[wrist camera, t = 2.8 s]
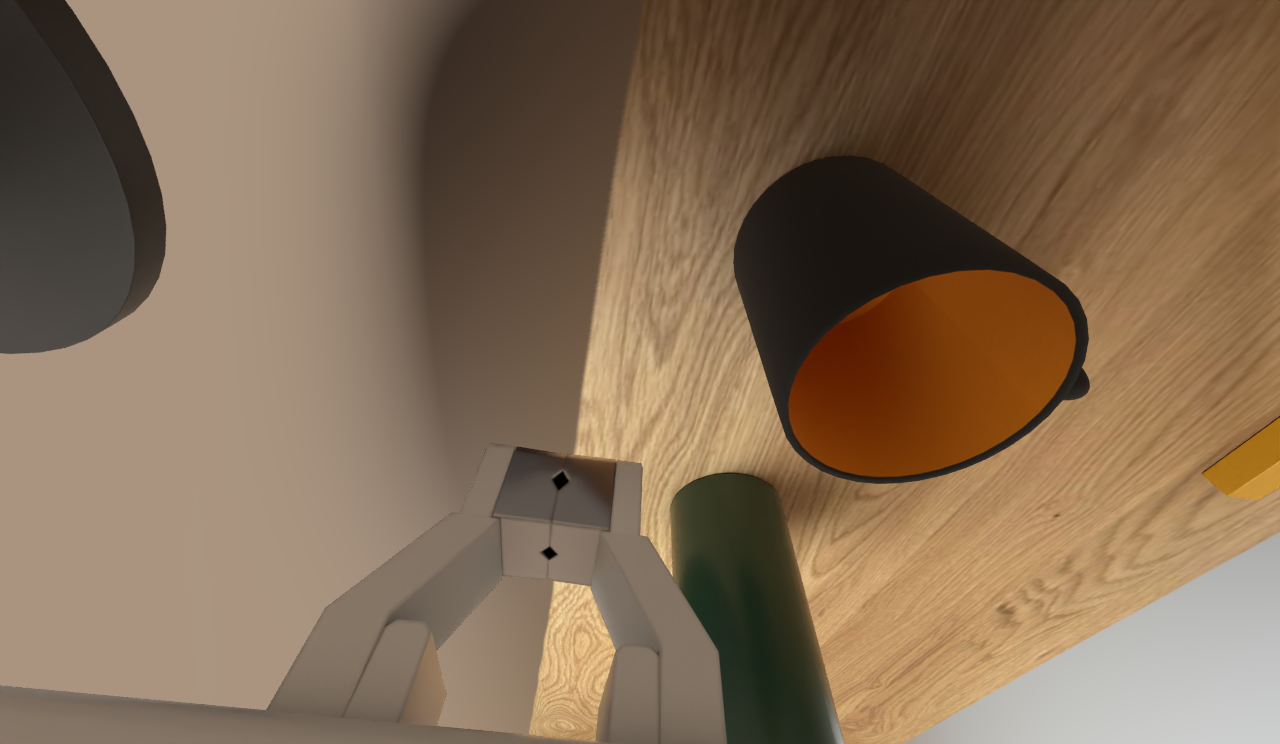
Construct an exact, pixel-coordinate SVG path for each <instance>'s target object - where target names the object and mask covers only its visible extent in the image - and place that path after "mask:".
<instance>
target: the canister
mask: <svg viewBox="0 0 1280 744" xmlns="http://www.w3.org/2000/svg"><path fill="white" fill-rule="evenodd" d="M670 512H671V540H672V569H673V579H674V580H675V582H676V583H677V585H678V587H679V588H680V590H681V592H682V593H683V595H684V596H685V598H686V600H687V601H688V603H689V604H690V606H691V608H692V609H693V611H694V613H695V614H696V616H697V617H698V619H699V621H700V622H701V624H702V626H703V627H704V629H705V630H706V632H707V634H708V635H709V637H710V639H711V640H712V642H713V643H714V645H715V647H716V648H717V650H718V652H719V662H720V673H721V683H722V694H723V705H724V716H725V727H726V738H727V744H845V743H844V739H843V735H842V731H841V727H840V724H839V720H838V716H837V712H836V708H835V705H834V701H833V697H832V693H831V689H830V685H829V682H828V678H827V674H826V670H825V666H824V663H823V659H822V655H821V651H820V647H819V643H818V640H817V636H816V632H815V628H814V624H813V621H812V617H811V613H810V609H809V605H808V601H807V598H806V594H805V590H804V586H803V582H802V579H801V575H800V571H799V567H798V563H797V560H796V556H795V552H794V548H793V544H792V540H791V537H790V533H789V529H788V525H787V521H786V518H785V514H784V510H783V506H782V502H781V498H780V496H779V494H778V493H777V491H776V490H775V489H774V488H773V487H772V486H771V485H770V484H768V483H767V482H765V481H763V480H761V479H758V478H756V477H753V476H749V475H743V474H732V473H731V474H717V475H712V476H707V477H704V478H701V479H698V480H696V481H694V482H692V483H690V484H688V485H687V486H685V487H684V488H683V489H681V490H680V491H679V492H678V493H677V495H676V496H675V497H674V499H673V501H672V504H671V508H670Z"/></svg>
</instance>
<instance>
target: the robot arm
mask: <svg viewBox="0 0 1280 744" xmlns="http://www.w3.org/2000/svg"><path fill="white" fill-rule="evenodd" d="M642 472H643V467H642V465H641V463H635V462H627V461H619V460H617V461H616V460H614V459H605V458H597V457H589V456H581V455H572V454H567V455H566V454H560V453H554V452H548V451H540V450H535V449H529V448H522V447H514V446H507V445H501V444H495V443H490V445H489V446H488V447H487V449H486V450H485V453H484V455H483V457H482V460H481V463H480V465H479V467H478V470H477V472H476V475H475V477H474V479H473V482H472V484H471V487H470V489H469V492H468V494H467V497H466V499H465V501H464V504H463V506H462V509H461V511H460V513H450V514H449V515H448V516H446V517H445V518H444V519H442V520H441V521H440V522H438V523H437V524H436V525H434V526H433V527H432V528H430V529H429V530H428V531H426V532H425V533H424V534H423V535H421V536H420V537H418V538H417V539H416V540H414V541H413V542H412V543H411V544H409V545H408V546H407V547H405V548H404V549H403V550H401V551H400V552H399V553H397V554H396V555H395V556H393V557H392V558H391V559H389V560H388V561H387V562H385V563H384V564H383V565H381V566H380V567H379V568H377V569H376V570H375V571H373V572H372V573H371V574H370V575H368V576H367V577H365V578H364V579H363V580H361V581H360V582H359V583H357V584H356V585H355V586H354V587H352V588H351V589H350V590H348V591H347V592H346V593H345V594H343V595H342V596H340V597H339V598H338V599H336V600H335V601H334V602H332V603H331V604H330V605H328V606H327V607H326V608H325V609H324V611H323V613H322V614H321V616H320V618H319V620H318V621H317V623H316V625H315V627H314V628H313V630H312V632H311V633H310V635H309V637H308V639H307V640H306V642H305V644H304V646H303V647H302V649H301V651H300V653H299V654H298V656H297V658H296V660H295V661H294V663H293V665H292V666H291V668H290V670H289V672H288V673H287V675H286V677H285V679H284V681H283V682H282V684H281V686H280V687H279V689H278V691H277V692H276V694H275V696H274V698H273V699H272V701H271V703H270V705H269V706H268V708H267V710H257V709H247V708H235V707H225V706H214V705H204V704H192V703H181V702H172V701H161V700H150V699H139V698H129V697H117V696H107V695H97V694H86V693H74V692H65V691H53V690H43V689H32V688H22V687H11V686H0V744H727V738H726V727H725V716H724V705H723V694H722V683H721V673H720V662H719V652H718V650H717V648H716V647H715V645H714V643H713V642H712V640H711V639H710V637H709V635H708V634H707V632H706V630H705V629H704V627H703V626H702V624H701V622H700V621H699V619H698V617H697V616H696V614H695V613H694V611H693V609H692V608H691V606H690V604H689V603H688V601H687V600H686V598H685V596H684V595H683V593H682V592H681V590H680V588H679V587H678V585H677V583H676V582H675V580H674V579H673V577H672V575H671V574H670V572H669V570H668V569H667V567H666V566H665V564H664V562H663V561H662V559H661V557H660V556H659V554H658V553H657V551H656V549H655V548H654V546H653V544H652V543H651V541H650V540H649V538H648V537H645V536H640V525H641V499H642ZM502 576H510V577H520V578H532V579H543V580H547V579H548V580H552V581H558V582H565V583H572V584H579V585H586V586H591V590H592V593H593V595H594V598H595V600H596V603H597V605H598V608H599V610H600V612H601V615H602V617H603V620H604V622H605V625H606V627H607V630H608V632H609V634H610V637H611V639H612V642H613V644H614V647H615V649H616V652H615V655H614V658H613V662H612V665H611V669H610V672H609V675H608V679H607V682H606V685H605V689H604V692H603V696H602V699H601V702H600V706H599V711H598V721H597V731H596V741H589V740H578V739H568V738H557V737H546V736H536V735H525V734H514V733H503V732H493V731H482V730H470V729H461V728H450V727H439V726H437V724H438V720H439V717H440V714H441V710H442V707H443V704H444V701H445V697H446V690H445V686H444V682H443V677H442V673H441V669H440V665H439V661H438V657H437V652H436V651H437V650H438V649H439V648H440V646H441V645H442V644H443V643H444V642H445V641H446V640H447V639H448V638H449V637H450V636H451V634H452V633H453V632H454V631H455V630H456V629H457V628H458V627H459V626H460V625H461V623H462V622H463V621H464V620H465V619H466V618H467V617H468V616H469V615H470V614H471V613H472V611H473V610H474V609H475V608H476V607H477V606H478V605H479V604H480V603H481V601H483V599H484V598H485V597H486V596H487V595H488V594H489V593H490V592H491V591H492V590H493V588H494V587H495V586H496V585H497V584H498V583H499V582H500V581H501V580H502Z"/></svg>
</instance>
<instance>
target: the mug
mask: <svg viewBox="0 0 1280 744" xmlns="http://www.w3.org/2000/svg"><path fill="white" fill-rule="evenodd" d="M733 263H734V272H735V278H736V281H737V284H738V288H739V291H740V294H741V297H742V300H743V304H744V307H745V310H746V313H747V316H748V320H749V323H750V326H751V329H752V332H753V336H754V339H755V342H756V345H757V348H758V351H759V355H760V358H761V361H762V364H763V367H764V370H765V374H766V377H767V380H768V383H769V386H770V389H771V393H772V396H773V399H774V402H775V405H776V408H777V411H778V414H779V417H780V420H781V423H782V426H783V429H784V432H785V435H786V438H787V439H788V441H789V442H790V444H791V445H792V447H793V448H794V450H795V451H796V452H797V453H798V454H799V455H800V456H801V457H802V458H803V459H804V460H806V461H807V462H808V463H810V464H811V465H813V466H814V467H816V468H818V469H819V470H821V471H823V472H826V473H828V474H831V475H833V476H836V477H838V478H843V479H847V480H851V481H856V482H864V483H875V484H887V483H904V482H912V481H920V480H925V479H929V478H934V477H938V476H942V475H946V474H949V473H952V472H955V471H958V470H961V469H964V468H967V467H969V466H971V465H974V464H976V463H978V462H981V461H983V460H985V459H987V458H989V457H991V456H993V455H995V454H997V453H998V452H1000V451H1002V450H1004V449H1006V448H1007V447H1009V446H1011V445H1012V444H1014V443H1015V442H1017V441H1018V440H1020V439H1021V438H1022V437H1024V436H1025V435H1027V434H1028V433H1030V432H1031V431H1032V430H1033V429H1034V428H1035V427H1037V426H1038V425H1039V424H1040V423H1041V422H1042V421H1043V420H1045V419H1046V418H1047V417H1048V416H1049V415H1050V414H1051V413H1052V412H1053V411H1054V409H1055V408H1056V407H1057V406H1058V405H1059V404H1060V403H1061V402H1062V400H1075V399H1078V398H1081V397H1083V396H1084V395H1086V394H1087V393H1088V391H1089V388H1090V383H1089V379H1088V377H1087V374H1086V373H1085V371H1084V370H1083V368H1082V366H1083V363H1084V361H1085V357H1086V352H1087V346H1088V340H1089V336H1088V325H1087V318H1086V315H1085V313H1084V311H1083V308H1082V306H1081V304H1080V301H1079V300H1078V298H1077V297H1076V296H1075V295H1074V294H1073V293H1072V292H1071V290H1070V289H1069V288H1068V287H1067V286H1066V285H1065V284H1064V283H1062V282H1061V281H1059V280H1058V279H1056V278H1055V277H1054V276H1052V275H1051V274H1049V273H1048V272H1046V271H1045V270H1043V269H1042V268H1040V267H1039V266H1037V265H1036V264H1035V263H1033V262H1032V261H1030V260H1029V259H1027V258H1026V257H1024V256H1023V255H1021V254H1019V253H1018V252H1016V251H1015V250H1013V249H1012V248H1010V247H1009V246H1007V245H1006V244H1004V243H1003V242H1001V241H1000V240H998V239H997V238H995V237H994V236H992V235H991V234H989V233H988V232H986V231H985V230H983V229H982V228H980V227H979V226H977V225H976V224H974V223H973V222H971V221H970V220H968V219H967V218H965V217H964V216H962V215H961V214H959V213H958V212H956V211H955V210H953V209H952V208H950V207H949V206H947V205H946V204H944V203H942V202H941V201H939V200H938V199H936V198H935V197H933V196H932V195H930V194H929V193H927V192H926V191H924V190H923V189H921V188H920V187H918V186H917V185H915V184H914V183H912V182H911V181H909V180H908V179H906V178H905V177H903V176H902V175H900V174H899V173H897V172H895V171H894V170H892V169H891V168H889V167H888V166H886V165H884V164H883V163H880V162H877V161H874V160H871V159H868V158H862V157H855V156H839V157H830V158H826V159H821V160H817V161H813V162H811V163H809V164H806V165H804V166H801V167H799V168H797V169H795V170H793V171H792V172H790V173H788V174H787V175H785V176H783V177H782V178H780V179H779V180H778V181H777V182H775V183H774V184H773V185H772V186H771V187H769V188H768V189H767V190H766V191H765V192H764V193H763V194H762V195H761V197H760V198H759V199H758V200H757V201H756V202H755V203H754V205H753V206H752V208H751V209H750V211H749V213H748V214H747V216H746V217H745V219H744V221H743V223H742V226H741V228H740V230H739V233H738V236H737V240H736V244H735V248H734V262H733Z"/></svg>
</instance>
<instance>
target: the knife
mask: <svg viewBox="0 0 1280 744" xmlns="http://www.w3.org/2000/svg"><path fill="white" fill-rule="evenodd" d="M1202 475H1203V476H1204V477H1206V478H1207V479H1208V480H1209V481H1210V482H1211V483H1213V484H1214V485H1215V486H1216V487H1217V488H1219V489H1220V490H1221V491H1222V492H1223V493H1224V494H1226V495H1227V496H1229V497H1237V498H1245V499H1252V500H1260V499H1261V498H1263V497H1264V496H1266V495H1267V494H1269V493H1271V492H1272V491H1274V490H1275V489H1277V488H1278V487H1280V417H1279V418H1278V419H1277V420H1275V421H1274V422H1273V423H1271V424H1270V425H1268V426H1267V427H1266V428H1264V429H1263V430H1262V431H1260V432H1259V433H1257V434H1256V435H1255V436H1253V437H1252V438H1251V439H1249V440H1248V441H1246V442H1245V443H1244V444H1242V445H1241V446H1240V447H1238V448H1237V449H1235V450H1234V451H1233V452H1231V453H1230V454H1229V455H1227V456H1226V457H1224V458H1223V459H1222V460H1220V461H1219V462H1218V463H1216V464H1215V465H1213V466H1212V467H1211V468H1209V469H1208V470H1207V471H1205V472H1204V473H1202Z"/></svg>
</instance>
